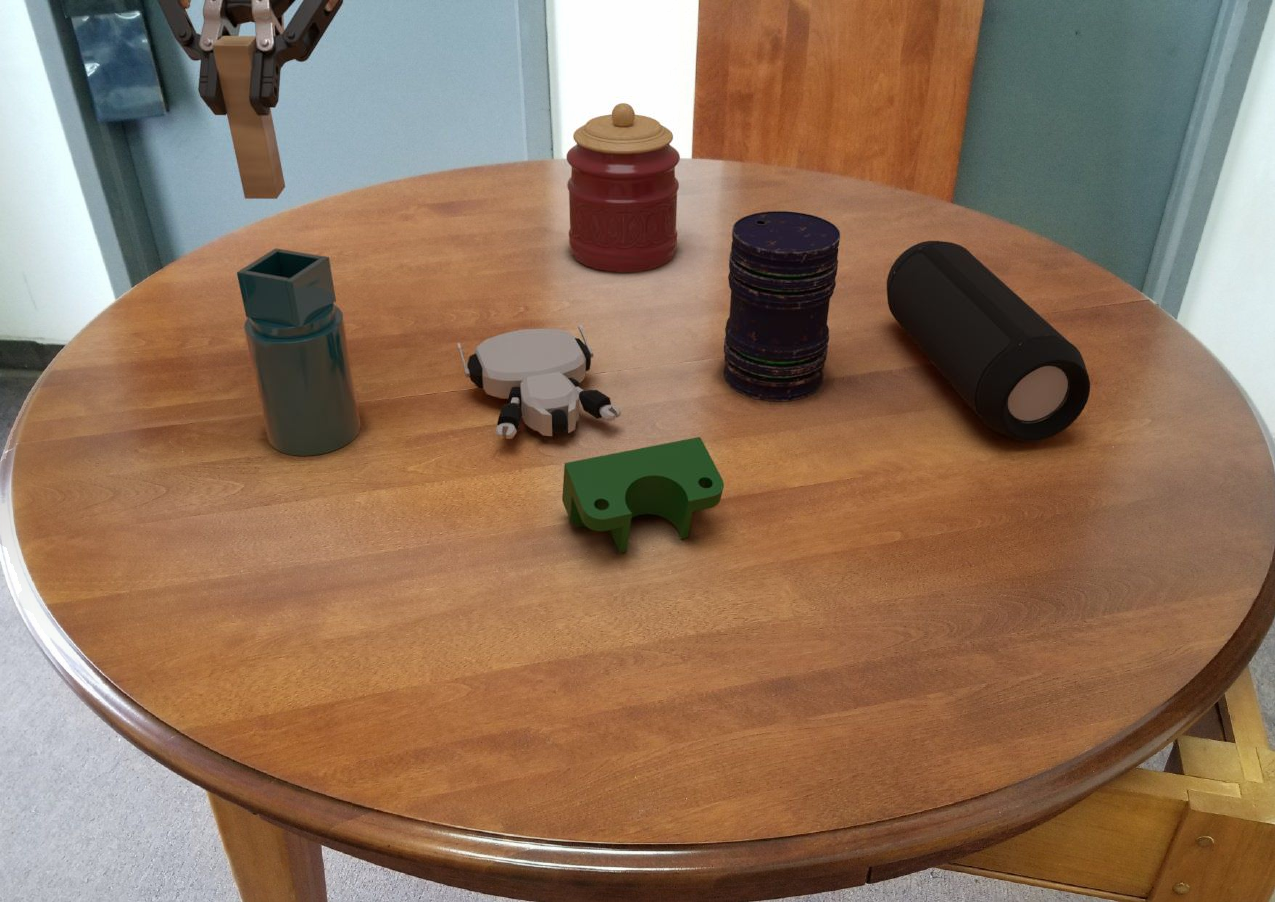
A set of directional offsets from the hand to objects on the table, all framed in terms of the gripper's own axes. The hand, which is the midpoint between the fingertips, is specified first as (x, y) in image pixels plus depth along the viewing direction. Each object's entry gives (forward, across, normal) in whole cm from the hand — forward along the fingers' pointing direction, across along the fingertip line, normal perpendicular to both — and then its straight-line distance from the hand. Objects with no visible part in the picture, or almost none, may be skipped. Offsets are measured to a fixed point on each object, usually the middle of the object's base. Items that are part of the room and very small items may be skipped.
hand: (238, 108), depth 74 cm
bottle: (+18, -1, +25) cm, 30 cm away
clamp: (+27, +28, +15) cm, 42 cm away
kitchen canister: (-11, +26, +54) cm, 61 cm away
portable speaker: (+11, +60, +32) cm, 69 cm away
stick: (+3, 0, +6) cm, 7 cm away
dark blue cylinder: (+10, +41, +32) cm, 53 cm away
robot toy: (+14, +19, +28) cm, 37 cm away
